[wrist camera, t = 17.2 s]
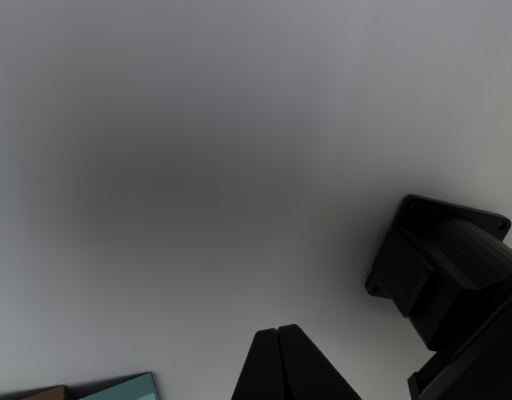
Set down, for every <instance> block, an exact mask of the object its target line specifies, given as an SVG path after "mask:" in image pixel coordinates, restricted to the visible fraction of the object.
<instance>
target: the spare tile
mask: <svg viewBox="0 0 512 400" xmlns="http://www.w3.org/2000/svg"><path fill="white" fill-rule="evenodd" d="M79 400H159V397H158V394H157V391H156V388H155V385H154V382H153V379H152V375H151V372H150V373H147V374H145V375H142V376H140V377H137V378H134V379H132V380H129V381H126V382H124V383H121V384H119V385H116V386H113V387H111V388H108V389H105V390H103V391H100V392H98V393H95V394H92V395H90V396H87V397H84V398H82V399H79Z"/></svg>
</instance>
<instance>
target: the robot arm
mask: <svg viewBox="0 0 512 400" xmlns="http://www.w3.org/2000/svg"><path fill="white" fill-rule="evenodd" d="M414 202H416V205H415V206H414V207H410V206H411V204H412V203H414ZM501 223H502V224H501ZM500 224H501V225H500ZM499 225H500V226H499ZM498 226H499V227H498ZM510 227H511V221H510V220H509V219H508V218H506V217H505V216H503V215H499V214H494V213H490V212H486V211H482V210H477V209H473V208H469V207H465V206H460V205H456V204H452V203H448V202H443V201H439V200H435V199H430V198H426V197H422V196H418V195H410V196H408V197H407V198H405V200H404V201H403V203H402V205H401V207H400V210H399V212H398V214H397V216H396V218H395V220H394V223H393V225H392V227H391V229H390V230H389V231H388V232H387V234H386V236H385V239H384V241H383V243H382V245H381V247H380V249H379V252H378V254H377V256H376V258H375V260H374V262H373V265H372V270H371V272H370V274H369V277H368V279H367V281H366V283H365V289H366V291H367V293H368V294H369V295H371V296H376V297H382V298H387V299H392V300H393V302H394V303H395V305H396V306H397V308H398V310H399V311H400V313H401V314H402V316H403V317H405V318H408V319H409V320H410V322H411V323H412V325H413V326H414V328H415V330H416V331H417V333H418V334H419V336H420V337H421V339H422V340H423V342H424V343H425V345H426V347H427V348H428V350H431V351H437V352H436V353H435V354H434V355H433V357H432V358H431V359H430V360H429V361H428V362H427V363H426V364H425V365H424V366H423V367H422V368H421V369H420V370H419V371H418V372H414V373H413V374H412V375H411V376H410V377H409V378H408V379H407V382H408V386H409V391H410V395H411V400H512V249H511V248H509V247H508V246H507V245H505V244H504V243H503V242H502V241H503V239H504V238H505V236H506V234H507V233H508V231H509V229H510ZM373 286H376V287H375V288H372V287H373ZM277 333H278V334H277ZM231 400H362V399H361V398H360V396H359V395H358V394H357V393H356V392H355V391H354V389H353V388H352V387H351V386H350V385H349V384H348V383H347V381H346V380H345V379H344V378H343V377H342V376H341V374H340V373H339V372H338V371H337V370H336V369H335V367H334V366H333V365H332V364H331V363H330V362H329V361H328V359H327V358H326V357H325V356H324V355H323V354H322V352H321V351H320V350H319V349H318V348H317V347H316V345H315V344H314V343H313V342H312V341H311V340H310V339H309V337H308V336H307V335H306V334H305V333H304V332H303V330H302V329H301V328H300V327H299V326H298V325H297V324H291V325H286V326H280V327H279V328H278V329H277V330H276V329H275V328H270V329H265V330H260V331H257V332H256V334H255V336H254V339H253V341H252V344H251V347H250V349H249V352H248V355H247V357H246V360H245V363H244V366H243V368H242V371H241V374H240V376H239V379H238V382H237V384H236V387H235V390H234V393H233V395H232V398H231Z"/></svg>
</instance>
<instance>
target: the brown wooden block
mask: <svg viewBox="0 0 512 400" xmlns="http://www.w3.org/2000/svg"><path fill="white" fill-rule="evenodd" d="M21 400H70V399H69V396H68V394H67V391H66V389H65V386H64V385H61V386H58V387H55V388H52V389H50V390H47V391H44V392H41V393H38V394H35V395H33V396H30V397H27V398H24V399H21Z"/></svg>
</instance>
